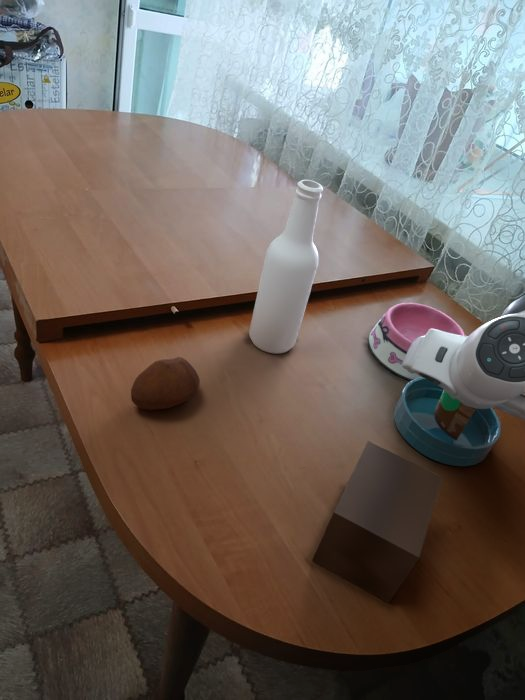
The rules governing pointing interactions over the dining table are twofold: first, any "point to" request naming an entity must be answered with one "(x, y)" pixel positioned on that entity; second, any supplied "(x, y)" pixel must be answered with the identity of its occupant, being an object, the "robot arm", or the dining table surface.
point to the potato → (165, 384)
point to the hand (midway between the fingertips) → (464, 389)
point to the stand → (379, 522)
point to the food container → (452, 415)
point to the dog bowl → (405, 334)
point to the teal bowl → (430, 439)
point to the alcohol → (287, 275)
